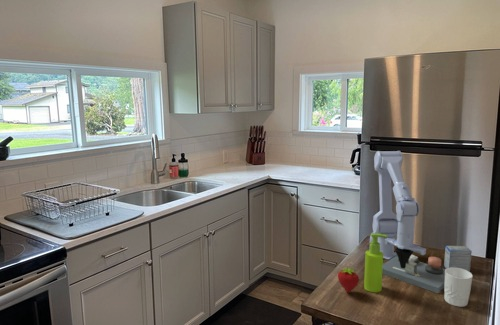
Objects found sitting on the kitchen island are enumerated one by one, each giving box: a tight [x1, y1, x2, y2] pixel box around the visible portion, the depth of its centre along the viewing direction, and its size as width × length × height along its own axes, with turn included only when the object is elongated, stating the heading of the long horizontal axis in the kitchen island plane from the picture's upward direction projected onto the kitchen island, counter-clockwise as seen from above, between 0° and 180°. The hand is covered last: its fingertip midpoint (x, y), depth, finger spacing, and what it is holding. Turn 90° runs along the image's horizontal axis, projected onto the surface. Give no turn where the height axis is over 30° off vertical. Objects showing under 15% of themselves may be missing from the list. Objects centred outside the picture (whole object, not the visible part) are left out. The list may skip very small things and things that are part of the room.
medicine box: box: [443, 245, 472, 272], centre depth 146 cm, size 8×4×9 cm, turn 84°
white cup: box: [443, 268, 474, 308], centre depth 123 cm, size 8×8×10 cm
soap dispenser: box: [363, 232, 388, 293], centre depth 131 cm, size 6×7×20 cm
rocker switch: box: [409, 254, 419, 262], centre depth 148 cm, size 5×4×1 cm
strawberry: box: [337, 267, 360, 293], centre depth 130 cm, size 6×8×10 cm
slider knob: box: [405, 261, 417, 275], centre depth 139 cm, size 3×3×4 cm
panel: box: [382, 255, 446, 294], centre depth 142 cm, size 22×16×3 cm
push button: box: [427, 256, 442, 268], centre depth 140 cm, size 4×4×2 cm
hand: (403, 267), depth 141 cm, fingers closed
